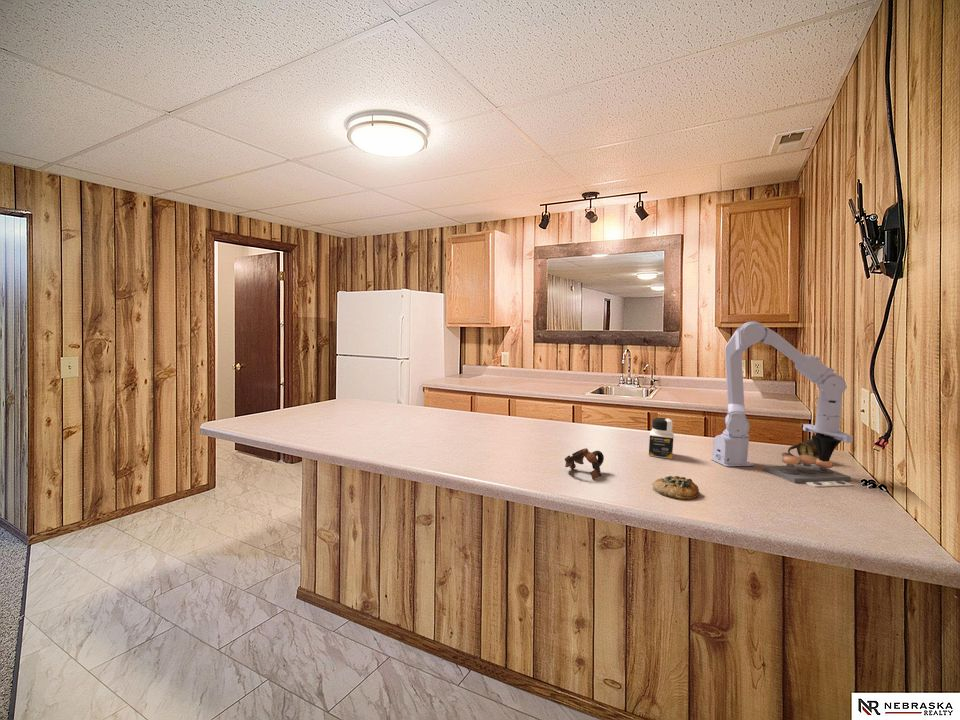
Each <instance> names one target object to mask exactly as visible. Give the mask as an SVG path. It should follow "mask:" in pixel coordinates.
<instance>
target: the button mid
mask: <svg viewBox="0 0 960 720" xmlns="http://www.w3.org/2000/svg"><path fill="white" fill-rule="evenodd" d="M799 458H800V459H799V463H802V465H804V466H808V467H810V466H811V465H815V464H816V457H813V456H809V455H800V456H799Z"/></svg>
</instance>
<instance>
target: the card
mask: <svg viewBox="0 0 960 720" xmlns="http://www.w3.org/2000/svg"><path fill="white" fill-rule="evenodd" d="M805 484H807V485H809V486H811V487H814V488H819V487H820V488H822V487H823V488H824V487H825V488H826V487H847V486H848V487H852V486H854V484H853V483H850V482H848V481H823V482H805Z"/></svg>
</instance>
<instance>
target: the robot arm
mask: <svg viewBox="0 0 960 720" xmlns="http://www.w3.org/2000/svg"><path fill="white" fill-rule="evenodd" d="M758 342H759V343H762V344H765V345H768V346H772V347H774V349H776V350H778V351H779V352H780V353H782V354H783V355H785V356H786V357H787V358H788V359H790V361H792V362H794V369H795V370H796V371H797V372H798V373H800V374H801V375H803V377H805V378H806V379H807V380H809V381H810V382H811V383H813V384H816V386H817V388H818V397H817V404H816V414H815V424H810V423H803V424H802V426H803V427H802V431H805V432H810V433H814V434H815V435H811V439H813V441H814V443H815V445H816V448H817V452H818V456H819V460H821V461H829V460H830V461H831V457H832V455H833V453H834V451H835V449H836V448H837V447H838V445H839V444H840V443H841V442H843V443H844V444H845V443H846V444H852V443H853V440H854V435H851V434H848V433H846V432H844V431H842V430H841V429H840V426H841V418H842V417H841V416H842V407H843V393H844V392H845V391H846V390H847V388H848V385H847V383H846V380H845V379H844V378H843V377H842V376H841V375H838V374H837V373H836V372H835V369H834V368H833V367H829V366H827V365H826V364H824V363H823V362H821V361H820V360H821V358H820V357H819V356H818V355H813V354H803V353H802V352H801V351H799V350H798V348H796V347H794V346H793V344H791V343H790V342H788V341H787V340H786V339H785V338H784V337H783V336H781V335H780V334H779V333H777V332H775V331H774V330H772V329H771V328H769V327H767V326H764V324H762V323H761V322H759V321H746V322H745V323H742V324H741V325H740V326H739V327H737V328H736V330H735V331H734V332H733V334H732V336H731V337H730V338H729V340H728V341H727V343H726V344H725V346H724V361H725V376H726V395H727V396H726V397H727V400H726V401H727V414H726V416H725V418H724V423H725V429H724V430H723V431H722V433H721V434H718V435H715V437H713V440H712V454H711V457H710V460H711V461H714V462H715V463H719V464H720V465H723V466H724V467H751V466H752V467H754V465H755V463H752V462H750V461H748V455H749V441H750V434H749V431H750V427H751V425H750V423H749V421H748V418H747V416H746V409H745V408H746V407H745V391H744V374H743V353H744V352H745V351H746V350H747V349H749V348H750V347H751V346H753V345H754V344H755V345H756V344H757V343H758Z"/></svg>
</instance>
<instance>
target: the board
mask: <svg viewBox="0 0 960 720" xmlns="http://www.w3.org/2000/svg"><path fill="white" fill-rule="evenodd" d="M819 468H820V467H819V466H816V465H815V464H811V466H810V467H808V466H804V465H803V464H799V465H794V467H789V466H787V465H764V471H766V472H768V473H770V474H773V475H775V476H778V477H780V478H782V479H784V480H786V481H789V482H792V483H793V484H797V483H799V484H800V483H802V484H803V483H805V482H823V481H845V482H851V480H852V479H851V478H852V477H851V476H850V475H846V474H844V473H841V472H839V471H836V470H833V469H832V468H827V470H821V469H819ZM805 484H806V483H805Z"/></svg>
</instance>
